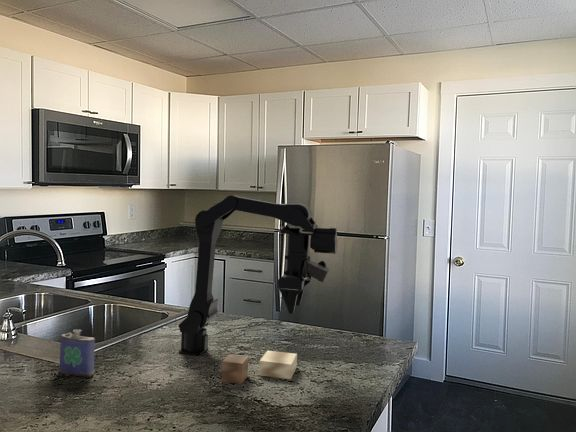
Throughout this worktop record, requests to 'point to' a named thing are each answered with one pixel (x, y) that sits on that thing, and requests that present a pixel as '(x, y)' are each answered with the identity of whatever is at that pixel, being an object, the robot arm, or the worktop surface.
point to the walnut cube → (235, 369)
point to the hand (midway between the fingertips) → (294, 309)
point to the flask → (77, 354)
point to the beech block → (278, 364)
